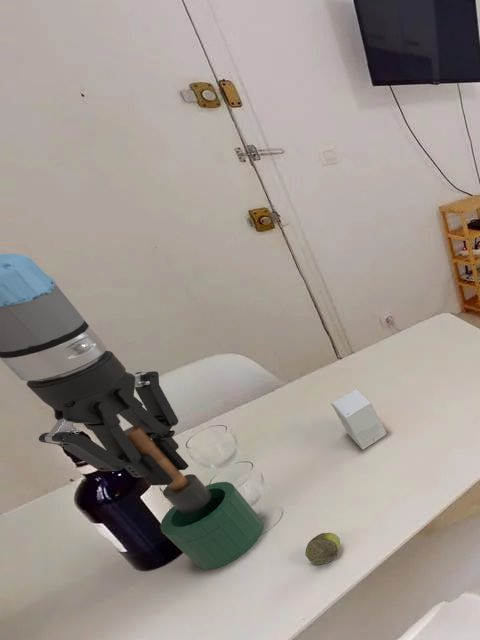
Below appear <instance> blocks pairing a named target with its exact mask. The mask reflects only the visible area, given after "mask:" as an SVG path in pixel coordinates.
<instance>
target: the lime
mask: <svg viewBox="0 0 480 640" xmlns="http://www.w3.org/2000/svg"><path fill="white" fill-rule="evenodd" d="M340 549H341V539H340V537H339V536H338V535H337V534H336V533H334V532H333V533H332V532H321V533H320V534H317V535H316V536H315V537H313V538H312V539H311V540H309V542H308V543H307V545H306V548H305V551H304V554H305V557H306V558H307V559H308V561H309V562H311V563H313V564H316V565H323V564H326V563H330V561H332V560H333V559H334V558H336V557H337V556H338V554H339V552H340Z"/></svg>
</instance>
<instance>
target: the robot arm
mask: <svg viewBox="0 0 480 640" xmlns="http://www.w3.org/2000/svg"><path fill="white" fill-rule="evenodd" d="M107 349H108V347H107V345H106V344H105V343H104V341H103V340H102V339H101V338H100V337H99V335H98V334H97V333H96V332H95V331H94V329H93V328H92V327H91V326H90V325H89V324H88V323H87V322H86V319H85V318H84V317H83V316H82V314H81V313H79V311H78V310H77V309H76V307H75V305H73V303H72V302H71V301H70V299H68V297H67V296H66V295H65V294H64V292H63V291H62V289H60V287H59V286H58V285H57V284H56V281H55V280H54V278H52V277H51V276H50V275H48V274H46V273H45V271H44V270H43V269H42V267H41V268H40V266H39V265H38V264H37V263H36V262H35V261H34V259H32V258H31V257H29V256H26V255H23V254H19V253H0V361H1V362H2V363H3V364H5V365H6V367H8V368H9V370H10V371H11V372H12V373H13V374H14V375H15V376H16V377H17V378H18V379H20V380H21V381H26V386H27V387H28V388H29V389H30V390H31V391H32V392H33V393H34V394H35V395H36V396H37V397H38V398H39V400H41V401H42V402H43V403H45V404H46V405H48V406H49V407H50V408H52V409H53V412H54V418H55V420H56V421H57V422H56V423H55V424H54V426H53V427H52V428H51V430H50V431H49V432H44V433H41V434H40V435H39V437H38V441H39V442H40V443H44V444H49V445H50V444H52V445H57V446H59V447H60V448H62V449H63V447H64V450H65V451H67V452H68V453H70V454H72V455H73V456H75V457H76V458H78V459H79V460H81V461H82V462H84V463H86V464H88V465H89V466H91V467H92V468H94V469H96V470H98V471H99V472H118V471H122V470H124V469H125V470H126V471H127V472H128V473H129V474H130V476H132V477H134V478H144V479H145V480H146V481H147V482H148V483H149V484H150V485H151V486H152V487H153V486H167V485H169V484H170V483H171V482H172V481H173V480H172V478H171V477H170V476H169V475H168V474H167V473H166V472H165V471H164V470H163V469H162V468H161V467H160V465H159V464H158V463H157V462H156V461H155V460H154V459H153V458H152V457H151V456H150V455H149V454H139V452H138V451H137V449H136V448H135V447H134V445H133V444H132V442H131V441H130V439H129V438H128V437H127V435H126V434H125V432H124V431H125V430H124V429H123V428H122V427H121V425H120V424H121V420H120V418H119V417H118V415H119V416H120V417H122V419H124V420H125V421H126V422H128V423H129V424H130V425H131V427H133V426H140V427H141V428H142V430H143V431H144V432H145V433H146V434H147V435H148V436H149V437H150V438H151V440H152V441H153V442H154V443H155V444H156V445H157V446H158V447H159V449H160V450H161V451H162V452H163V453H164V454H165V455H166V456H167V457H168V459H169V460H170V461H171V462H172V463H173V464H174V465H175V466H176V468H177V469H178V470H179V471H185V470H186V469H188V468H189V466H190V465H189V464H188V463H187V461H185V459H184V458H183V457H182V456H181V455H180V454H179V453H178V451H177V450H178V449H179V444H178V442H177V441H176V440H175V438H173V437H174V435H175V433H176V432H175V430H174V429H173V430H171V429H172V428H173V427H176V426H177V425H178V424H179V417H178V416H177V414H176V413H175V411H174V409H173V408H172V406H171V403H170V402H169V400H168V398H167V396H166V395H165V393H164V391H163V389H162V387H161V385H160V375H159V372H158V371H156V370H154V371H152V370H151V371H137V372H135V373H131V372H127V371H126V369H127V368H126V367H125V365H124V364H123V363H122V362H121V361H120V360H119V359H118V357H117V356H116V355H115V353H113V352H112V351H111V350H107ZM135 392H136V394H137V396H138V398H139V399H140V400H139V399H138V398H137V397H136V396H135ZM143 406H144V407H143ZM74 424H83V425H84V427H85V428H86V429H87V430H89V431H92V433H93V434H94V435H95V437H96V438H97V440H98V441H99V442H100V444H101V445H102V446H101V445H100V444H98V443H97V442H95V441H94V440H92V439H91V438H90V437H87V436H85V435H83V434H80V432H81V431H80V429H78V428H76V427H75V426H74ZM76 432H79V433H76ZM72 433H74V434H72ZM69 434H71V435H69ZM66 436H67V437H66ZM65 437H66V438H65ZM64 438H65V439H64ZM63 439H64V442H63ZM62 443H63V447H62Z"/></svg>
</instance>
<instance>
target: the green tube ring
mask: <svg viewBox="0 0 480 640" xmlns="http://www.w3.org/2000/svg"><path fill="white" fill-rule="evenodd" d="M204 486H205V487H206V488H207V489H208V490H209V491H210V493H211V494H212V497H211V499H210V501H209V502H208V503H207V504H206V505H205V506H203V507H202V508H200V509H199V510H197V511H195V512H193V513H190V514H181V513H180V512H179V511H178V510H177V509H176V508H175V507H174V506H173V505H172V507H171V508H169V510H168V511H167V512H166V514H165V515H164V516H163V518H162V519H161V522H160V525H159V528H160V531H161V533H162V534H163V535H164V536H165V537H166V538H167V539H168V540H169V541H171V543H173V544H174V546H176V547H177V549H178V550H179V551H181V552H182V553H183V554H184V555H185V556H186V557H187V558H188V559H189V560H190V561H191V562H192V563H193V564H194V565H196V566H197V567H199V568H200V569H201V570H207V571H208V570H209V571H210V570H216V569H219V568H221V567H224V566H226V565H228V564H230V563H233V562H234V561H236V560H237V559H239V558H240V557H242V555H245V553H247V552H248V551H249V550H250V549H251V548H252V547H253V546H254V545H255V543H256V542H257V541H258V540H259V538H260V536H261V535H262V532H263V529H264V522H263V520H262V519H261V518H260V515H258V514H257V512H256V511H255V510H254V509H253V507H252V506H251V505H250V504H249V503H248V501H247V500H246V499H245V498H244V496H243V495H242V494H241V492H240V491H239V490H238V489H237V488H236V487H235V485H234V484H233V483H232V482H228V481H216V482H213V483H210V484H207V485H204Z"/></svg>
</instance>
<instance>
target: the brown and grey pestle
mask: <svg viewBox="0 0 480 640" xmlns="http://www.w3.org/2000/svg"><path fill="white" fill-rule="evenodd" d="M123 431H124V432H125V434H126V435H127V437H128V438H129V439H130V441H131V442H132V444H133V445H134V447H135V448H136V449H137V451H138V452H139V454H149V455H150V456H151V457H152V458H153V459H154V460H155V461H156V462H157V463H158V464H159V465H160V467H161V468H162V469H163V470H164V471H165V472H166V473H167V474H168V475H169V476H170V477H171V478H172V480H173V481H172V482H171V483H170V484H169V485H166V487H164V489H163V491H162V495H163V497H165V499H167V501H168V502H169V503H170V504H171V505H172V507H173V506H174V507H175V508H176V509H177V510H178V511H179V512H180V513H181V514H190V513H193V512H195V511H197V510H199V509H200V508H202V507H203V506H205V505H206V504H207V503H208V502H209V501H210V499H211V497H212V494H211V493H210V491H209V490H208V489H207V488H206V487H205V486H206V485H205V484H204V483H203V482H202V481H201V479H200V478H199V477H198V476H197V474H194V473H193V474H192V473H191V474H183V473H182V472H181V470H178V469H177V468H176V466H175V465H174V464H173V463H172V462H171V461H170V460H169V459H168V457H167V456H166V455H165V454H164V453H163V452H162V451H161V450H160V449H159V447H158V446H157V445H156V444H155V443H154V442H153V441H152V439H151V438H150V437H149V436H148V435H147V434H146V433H145V432H144V431H143V430H142V428H141V427H140V426H131V427H128V428H126V429H125V430H123Z"/></svg>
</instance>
